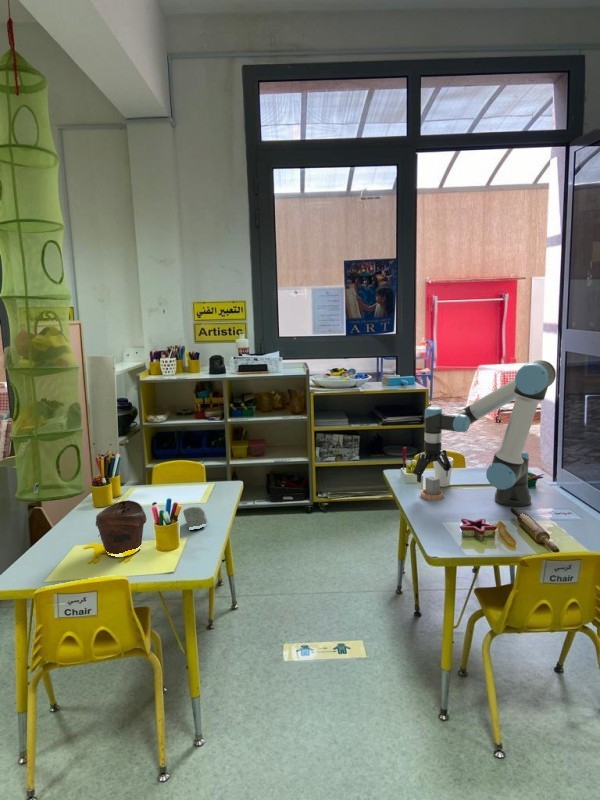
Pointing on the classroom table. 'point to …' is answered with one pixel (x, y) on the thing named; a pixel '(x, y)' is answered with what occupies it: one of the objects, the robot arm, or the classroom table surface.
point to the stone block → (432, 486)
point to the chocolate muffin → (121, 526)
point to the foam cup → (438, 469)
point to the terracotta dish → (432, 497)
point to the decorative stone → (195, 516)
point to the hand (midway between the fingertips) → (432, 486)
